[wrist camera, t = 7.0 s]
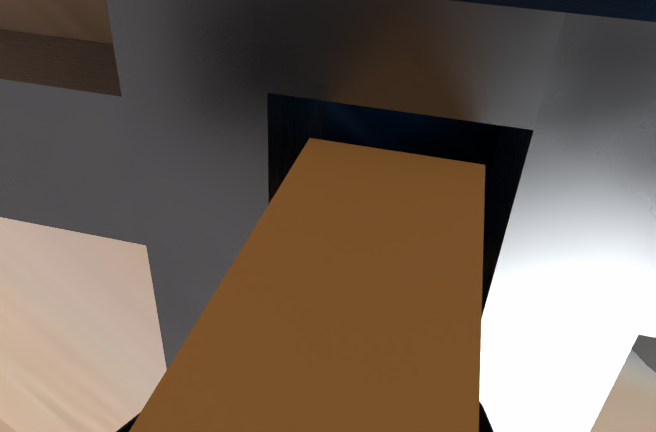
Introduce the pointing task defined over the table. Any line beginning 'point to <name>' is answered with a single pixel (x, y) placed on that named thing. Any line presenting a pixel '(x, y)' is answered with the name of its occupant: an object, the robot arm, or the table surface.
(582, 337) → the ring lock bracket
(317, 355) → the tan stepped block
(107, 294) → the table surface
